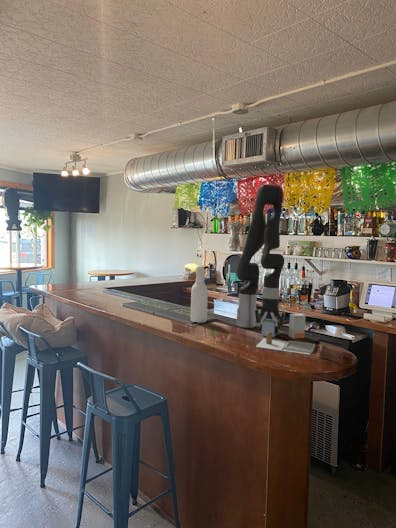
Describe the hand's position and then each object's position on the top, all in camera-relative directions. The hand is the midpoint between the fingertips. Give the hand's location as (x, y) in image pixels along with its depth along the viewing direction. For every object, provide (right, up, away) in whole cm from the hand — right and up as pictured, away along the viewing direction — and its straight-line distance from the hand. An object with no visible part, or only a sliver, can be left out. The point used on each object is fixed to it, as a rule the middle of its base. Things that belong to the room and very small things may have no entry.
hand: (269, 332), depth 184 cm
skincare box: (+12, -4, -1) cm, 13 cm away
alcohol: (-33, +1, +31) cm, 45 cm away
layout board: (+4, -4, -16) cm, 17 cm away
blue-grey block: (0, -1, 0) cm, 1 cm away
